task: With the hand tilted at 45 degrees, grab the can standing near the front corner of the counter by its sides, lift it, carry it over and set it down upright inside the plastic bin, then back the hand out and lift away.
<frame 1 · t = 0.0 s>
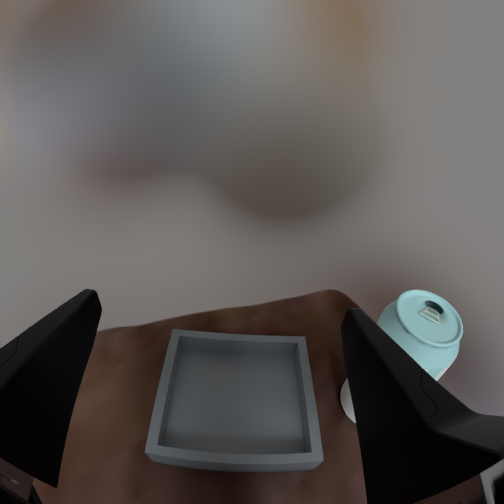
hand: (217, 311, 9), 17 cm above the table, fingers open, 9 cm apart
can: (370, 402, 23), on the table
bin: (235, 407, 22), on the table
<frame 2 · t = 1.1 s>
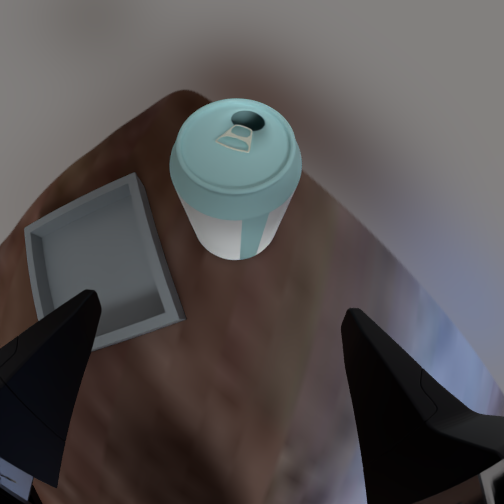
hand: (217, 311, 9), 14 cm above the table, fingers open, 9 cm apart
can: (235, 221, 24), on the table
bin: (100, 273, 23), on the table
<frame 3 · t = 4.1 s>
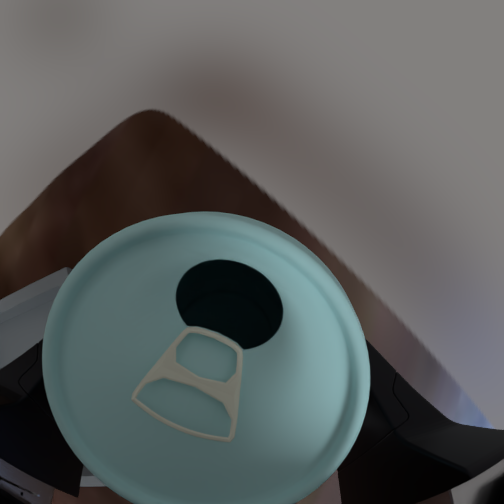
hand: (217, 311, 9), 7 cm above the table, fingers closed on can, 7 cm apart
can: (224, 337, 16), on the table, touching gripper
bin: (51, 390, 14), on the table
when the fingers open (9 cm above the table, at t = 8.8 s): can drops 1 cm, resting on bin.
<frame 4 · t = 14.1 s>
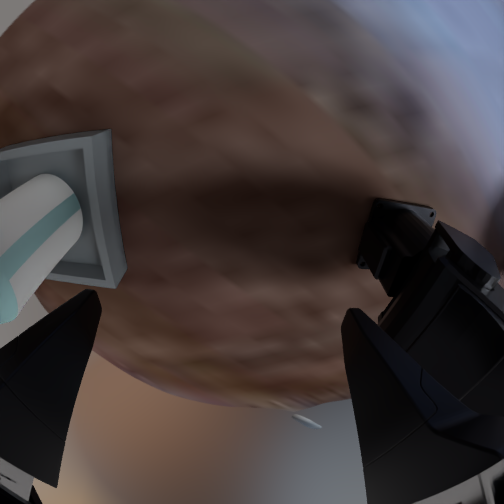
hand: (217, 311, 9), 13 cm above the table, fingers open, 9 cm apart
can: (56, 208, 20), point 1 cm above the table, touching bin
bin: (59, 204, 21), on the table
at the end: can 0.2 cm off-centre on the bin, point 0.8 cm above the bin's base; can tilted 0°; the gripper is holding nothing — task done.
